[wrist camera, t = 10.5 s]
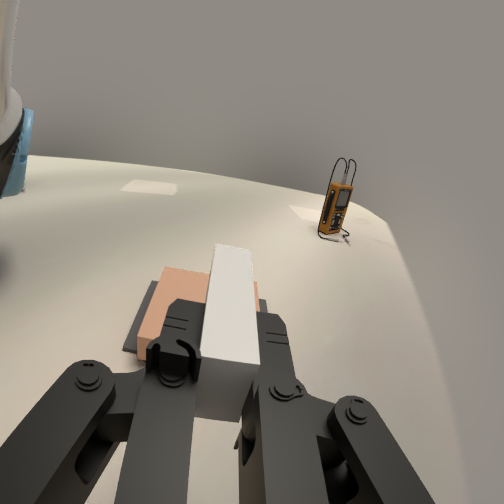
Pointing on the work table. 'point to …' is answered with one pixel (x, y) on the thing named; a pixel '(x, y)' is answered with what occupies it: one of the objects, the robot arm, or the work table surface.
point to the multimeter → (336, 206)
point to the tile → (166, 292)
